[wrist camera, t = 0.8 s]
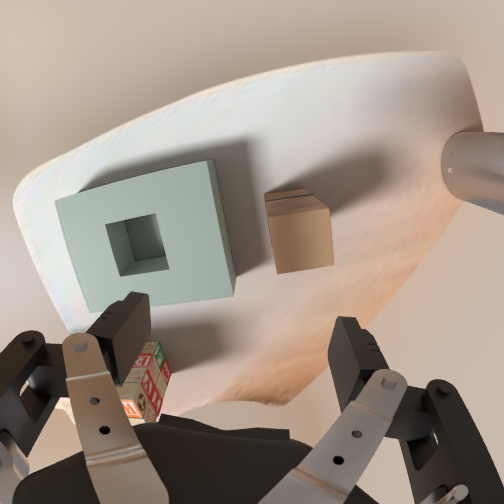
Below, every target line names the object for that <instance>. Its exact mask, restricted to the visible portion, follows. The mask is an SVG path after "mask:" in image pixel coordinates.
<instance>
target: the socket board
mask: <svg viewBox="0 0 504 504" xmlns="http://www.w3.org/2000/svg"><path fill="white" fill-rule="evenodd" d="M55 205H56V209H57V213H58V217H59V221H60V224H61V228H62V232H63V235H64V239H65V242H66V246H67V249H68V252H69V256H70V259H71V262H72V265H73V268H74V271H75V274H76V277H77V280H78V283H79V285H80V288H81V291H82V294H83V296H84V299H85V301H86V304H87V307H88V309H89V312H90V313H93V312H104V311H105V310H106V309H107V307H108V306H109V305H111V304H112V303H114V302H116V301H118V300H121V301H123V300H124V299H125V297H126V296H127V295H128V294H129V293H130V292H131V291H134V292H140V293H147V294H148V295H149V301H150V307H153V306H162V305H170V304H179V303H187V302H195V301H203V300H210V299H218V298H225V297H233V296H234V290H235V283H236V273H235V269H234V264H233V259H232V254H231V248H230V243H229V238H228V233H227V228H226V223H225V218H224V213H223V207H222V202H221V197H220V191H219V186H218V181H217V175H216V170H215V165H214V159H211V160H206V161H201V162H196V163H191V164H187V165H182V166H178V167H173V168H169V169H164V170H160V171H156V172H152V173H148V174H144V175H140V176H136V177H132V178H128V179H125V180H121V181H117V182H114V183H110V184H106V185H103V186H99V187H96V188H93V189H89V190H86V191H83V192H80V193H76V194H73V195H70V196H67V197H64V198H61V199H58V200H55ZM154 213H156V217H157V222H158V226H159V230H160V234H161V238H162V242H163V246H164V250H165V254H166V256H162V257H156V258H150V259H144V260H138V261H135V257H134V254H133V250H132V247H131V243H130V239H129V236H128V232H127V228H126V224H125V220H126V219H131V218H136V217H140V216H145V215H150V214H154Z"/></svg>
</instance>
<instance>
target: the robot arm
mask: <svg viewBox="0 0 504 504" xmlns="http://www.w3.org/2000/svg"><path fill="white" fill-rule="evenodd" d="M442 174H443V178H444V181H445V183H446V185H447V187H448V189H449V190H450V192H451V193H452V194H453V195H454V196H455V197H457V198H459V199H461V200H464V201H467V202H470V203H472V204H475V205H478V206H481V207H483V208H486V209H489V210H492V211H494V212H497V213H500V214H502V215H504V133H495V132H459V133H456V134H455V135H453V136H452V137H451V138H450V139H449V140H448V142H447V144H446V145H445V148H444V151H443V155H442ZM150 330H151V319H150V301H149V295H148V294H147V293H140V292H134V291H131V292H130V293H129V294H128V295H127V296H126V297H125V299H124V300H123V301H121V300H118V301H116V302H114V303H112V304H111V305H109V306H108V307H107V309H106V310H105V311H104V313H102V314H101V315H100V318H98V319H97V320H96V321H95V322H94V323H93V325H92V326H91V327H90V328H89V329H88V330H87V332H86V333H77V334H73V335H71V336H69V337H67V338H66V339H65V340H64V342H63V344H49V343H46V342H45V338H44V336H43V334H42V333H40V332H38V331H32V330H31V331H25V332H22V333H20V334H19V335H17V336H16V337H15V338H14V339H13V340H12V342H10V343H9V344H8V346H7V347H6V348H5V349H4V350H3V351H2V352H1V353H0V504H379V503H378V502H376V501H375V500H374V499H373V498H371V497H370V496H369V495H368V494H367V493H365V492H364V491H363V490H362V489H361V488H359V487H358V486H357V485H356V483H357V481H358V480H359V478H360V477H361V475H362V473H363V472H364V470H365V468H366V467H367V465H368V464H369V462H370V460H371V458H372V457H373V455H374V454H375V452H376V450H377V448H378V446H379V445H380V443H381V441H382V439H383V437H389V438H395V439H398V440H399V443H400V447H401V450H402V454H403V458H404V461H405V465H406V469H407V473H408V476H409V481H410V484H411V489H412V493H413V497H414V502H415V504H504V487H503V484H502V481H501V479H500V477H499V474H498V472H497V470H496V467H495V465H494V463H493V460H492V458H491V456H490V454H489V452H488V450H487V447H486V445H485V443H484V441H483V439H482V437H481V435H480V433H479V431H478V429H477V427H476V425H475V423H474V421H473V419H472V417H471V415H470V413H469V412H468V409H467V408H466V406H465V404H464V402H463V400H462V398H461V397H460V395H459V393H458V391H457V389H456V388H455V387H454V386H453V385H452V384H451V383H449V382H447V381H444V380H439V379H436V380H432V381H430V382H429V383H428V385H427V387H426V389H423V388H417V387H412V386H408V385H407V381H406V379H405V378H404V377H403V376H402V375H401V374H400V373H398V372H396V371H393V370H390V369H389V367H388V365H387V363H386V360H385V358H384V356H383V354H382V352H381V351H380V348H379V346H378V345H377V343H376V340H375V338H374V336H373V335H371V334H370V333H369V332H368V331H367V330H366V329H361V327H360V325H359V323H358V321H357V319H356V318H355V317H343V316H338V317H337V319H336V322H335V326H334V330H333V333H332V337H331V340H330V344H329V348H328V361H329V365H330V369H331V373H332V377H333V381H334V385H335V389H336V393H337V397H338V402H339V406H340V410H341V415H340V416H339V418H338V419H337V420H336V421H335V423H334V424H333V425H332V427H331V428H330V429H329V430H328V431H327V433H326V434H325V435H324V436H323V438H322V439H321V440H320V441H319V442H318V444H317V445H316V446H315V447H314V448H312V447H311V446H309V445H307V444H305V443H302V442H300V441H297V440H294V439H290V434H289V429H288V430H287V429H270V428H249V429H239V430H221V429H218V428H215V427H211V426H209V425H206V424H203V423H201V422H198V421H195V420H193V419H187V418H181V417H177V416H171V415H166V414H162V413H161V416H160V419H159V422H147V423H141V424H137V425H134V426H132V425H131V423H130V421H129V419H128V416H127V414H126V412H125V409H124V407H123V405H122V402H121V400H120V397H119V395H118V392H117V390H116V387H115V386H118V387H122V385H123V384H124V382H125V380H126V378H127V376H128V374H129V372H130V371H131V369H132V367H133V365H134V363H135V361H136V360H137V358H138V356H139V354H140V352H141V351H142V349H143V347H144V345H145V343H146V342H147V340H148V338H149V335H150ZM26 381H28V384H29V385H28V386H27V387H26V389H25V390H24V392H23V393H22V394H21V396H20V391H21V388H22V387H23V385H24V384H25V382H26ZM60 398H70V403H71V407H72V412H73V416H74V420H75V424H76V427H77V431H78V435H79V438H80V442H81V445H82V448H83V451H81V452H79V453H76V454H74V455H73V456H70V457H68V458H66V459H64V460H61V461H59V462H57V463H55V464H53V465H50V466H48V467H45V468H43V469H41V470H38V471H36V472H34V473H32V474H30V475H28V474H29V469H30V467H29V462H28V460H27V457H28V455H29V453H30V451H31V449H32V447H33V445H34V444H35V442H36V440H37V438H38V436H39V434H40V433H41V430H42V429H43V427H44V425H45V424H46V422H47V420H48V418H49V416H50V415H51V413H52V411H53V410H54V408H55V406H56V404H57V403H58V401H59V399H60ZM434 433H435V434H436V437H437V440H438V445H437V442H436V439H435V437H434Z"/></svg>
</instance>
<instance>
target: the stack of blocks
mask: <svg viewBox="0 0 504 504" xmlns="http://www.w3.org/2000/svg"><path fill="white" fill-rule="evenodd" d="M170 377H171V371H170V369H169V366H168V364H167V361H166V359H165V357H164V354H163V351H162V349H161V346H160V343H159V341H156V342H146V343H145V345H144V347H143V349H142V351H141V352H140V354H139V356H138V358H137V360H136V361H135V363H134V365H133V367H132V369H131V371H130V372H129V374H128V376H127V378H126V380H125V382H124V384H123V385H122V387H118V386H115V387H116V390H117V392H118V395H119V397H120V400H121V402H122V405H123V407H124V409H125V412H126V414H127V416H128V419H129V421H130V423H131V425H132V426H134V425H137V424H141V423H147V422H156V419H157V417H158V416H159V413H160V410H161V406H162V403H163V398H164V395H165V391H166V388H167V385H168V383H169V379H170ZM26 382H27V383H28V381H26ZM28 385H29V384H28ZM55 408H58V409H64V410H65V411H66V413H67V414H68V416H69V417H70V419H71V420H72V421H73V423H74V424H75V420H74V416H73V412H72V407H71V403H70V398H60V399H59V401H58V403H57V404H56V406H55ZM75 426H76V424H75Z"/></svg>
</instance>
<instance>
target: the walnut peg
mask: <svg viewBox="0 0 504 504" xmlns="http://www.w3.org/2000/svg"><path fill="white" fill-rule="evenodd" d="M264 198H265V206H266V212H267V218H268V225H269V231H270V237H271V244H272V248H273V253H274V258H275V264H276V270H277V274H282V273H289V272H295V271H301V270H307V269H314V268H320V267H326V266H332V265H334V253H333V241H332V230H331V220H330V210H329V208H328V207H327V206H326V205H325V204H324V203H322V202H321V201H320V200H319V199H317V198H316V197H315V196H314V195H313V194H312V193H310V192H309V191H307V190H306V189H305V188H300V189H293V190H286V191H279V192H272V193H266V194H264Z"/></svg>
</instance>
